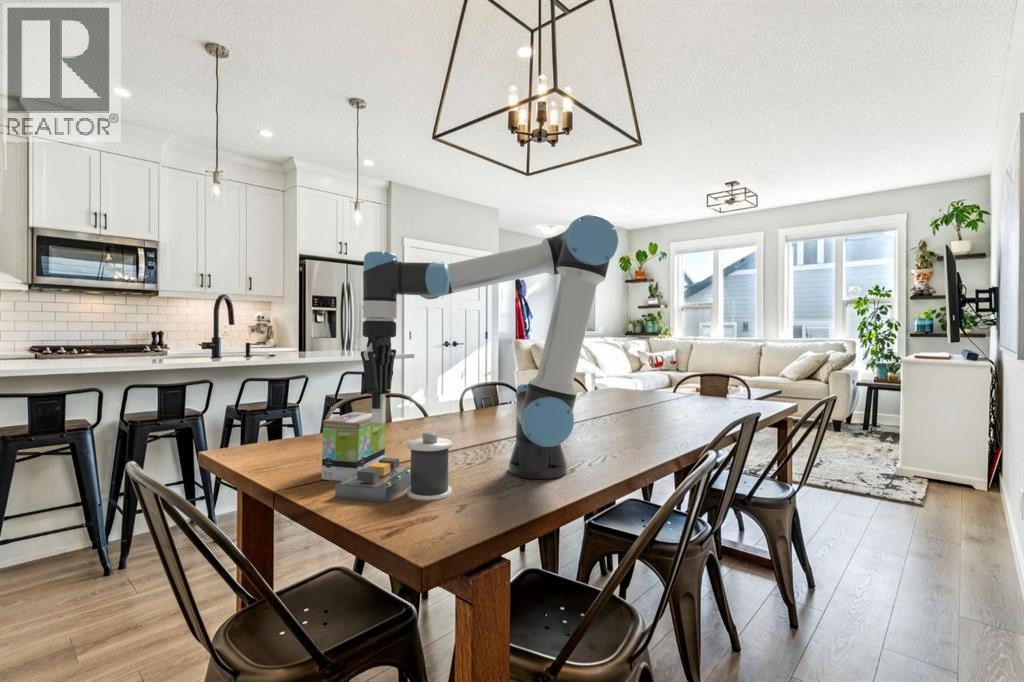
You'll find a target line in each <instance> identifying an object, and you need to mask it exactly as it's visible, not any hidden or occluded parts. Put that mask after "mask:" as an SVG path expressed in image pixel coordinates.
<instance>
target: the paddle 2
mask: <svg viewBox="0 0 1024 682" xmlns="http://www.w3.org/2000/svg"><path fill="white" fill-rule="evenodd" d="M379 463H389V464H390V469H392V470H395V469H396V468H398V467H400V458H394V457H385V458H382V459H380V460H379Z"/></svg>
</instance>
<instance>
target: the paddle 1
mask: <svg viewBox="0 0 1024 682" xmlns="http://www.w3.org/2000/svg"><path fill="white" fill-rule="evenodd" d="M378 479H379V470H378V469H365V468H363V469H361V470H359V471H357V480H358V481H369V482H374V481H376V480H378Z"/></svg>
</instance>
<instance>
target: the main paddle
mask: <svg viewBox="0 0 1024 682" xmlns="http://www.w3.org/2000/svg"><path fill="white" fill-rule="evenodd" d="M368 469H378V470H379V476H384V475H386V474H388V473H390V464H389V463H376V462H374V463H373V464H371V465H369V466H368Z"/></svg>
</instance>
